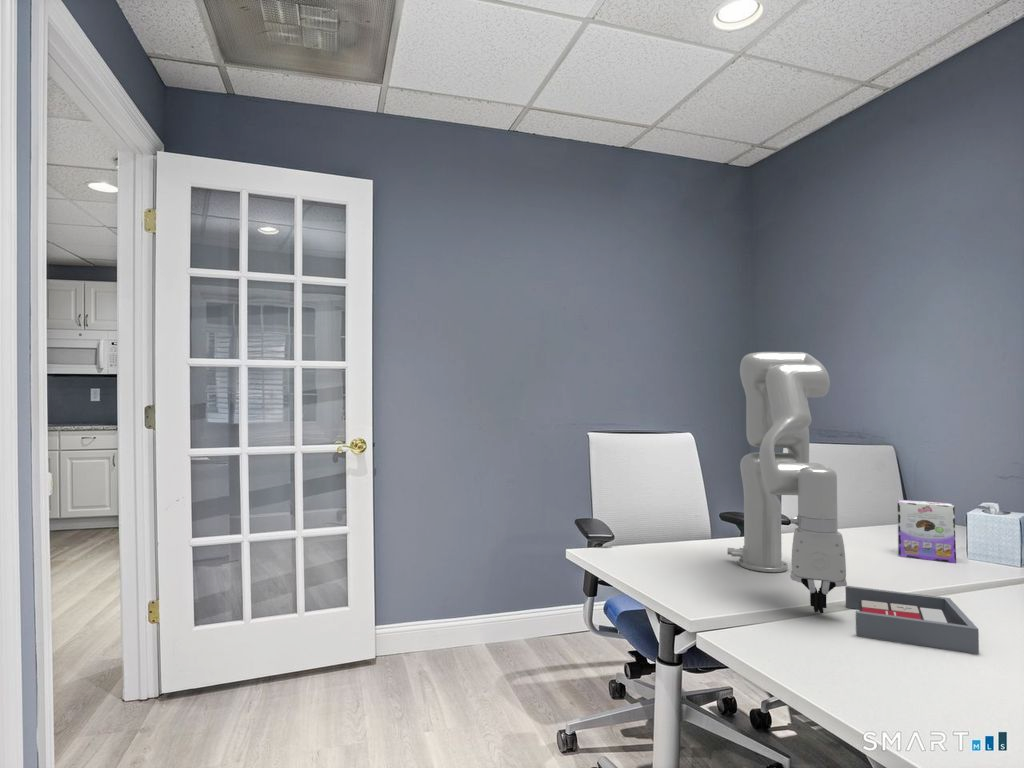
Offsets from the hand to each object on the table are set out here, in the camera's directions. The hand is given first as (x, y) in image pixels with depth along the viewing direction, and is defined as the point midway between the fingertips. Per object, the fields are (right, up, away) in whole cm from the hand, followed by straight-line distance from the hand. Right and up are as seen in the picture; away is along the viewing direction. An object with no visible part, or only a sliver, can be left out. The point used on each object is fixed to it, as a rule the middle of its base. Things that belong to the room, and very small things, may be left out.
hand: (818, 610), depth 123 cm
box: (+14, -1, -7) cm, 16 cm away
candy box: (+57, -3, +47) cm, 74 cm away
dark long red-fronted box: (+13, -2, -7) cm, 15 cm away
